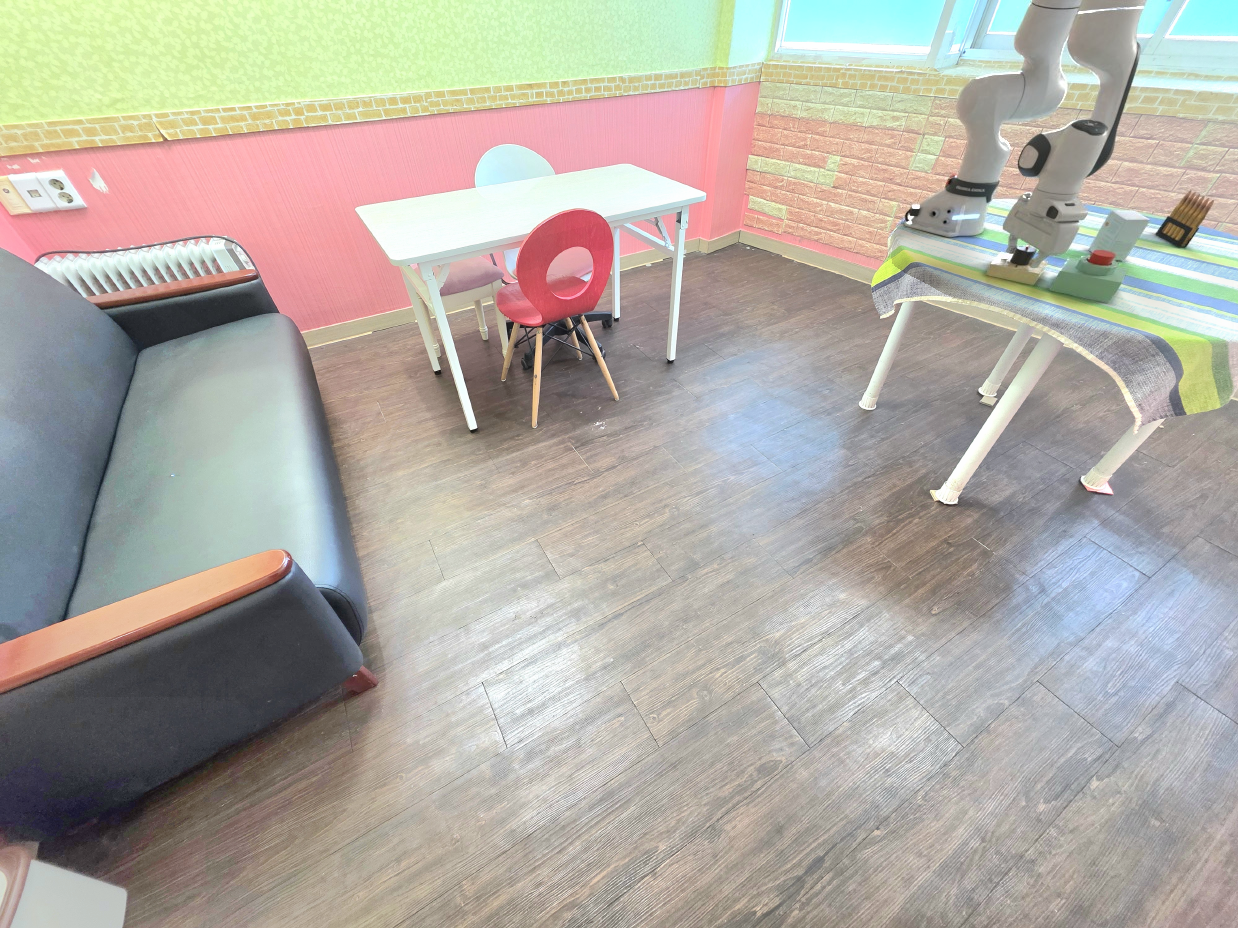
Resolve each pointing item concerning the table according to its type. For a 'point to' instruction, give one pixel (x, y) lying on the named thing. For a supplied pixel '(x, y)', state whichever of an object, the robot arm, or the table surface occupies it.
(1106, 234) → the small box
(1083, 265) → the green push button box
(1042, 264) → the panel
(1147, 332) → the table surface
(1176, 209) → the ammunition clip
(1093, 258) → the button
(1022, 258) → the knob
